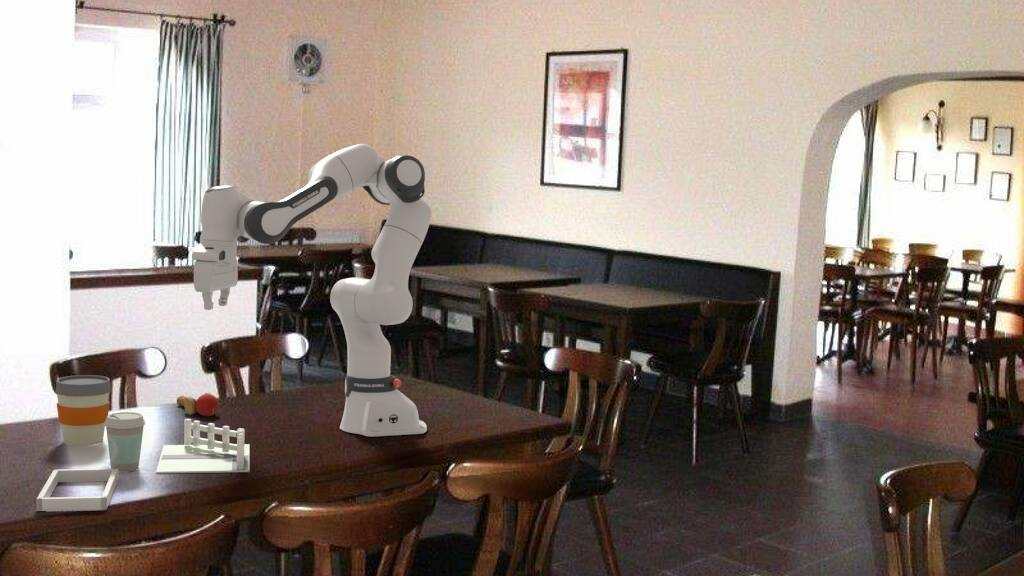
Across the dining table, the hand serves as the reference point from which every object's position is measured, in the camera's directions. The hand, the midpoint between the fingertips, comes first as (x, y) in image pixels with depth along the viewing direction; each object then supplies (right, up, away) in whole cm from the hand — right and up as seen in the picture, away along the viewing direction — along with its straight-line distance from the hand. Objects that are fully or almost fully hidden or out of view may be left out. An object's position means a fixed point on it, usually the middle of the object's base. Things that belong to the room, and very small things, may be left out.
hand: (215, 307), depth 300 cm
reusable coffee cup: (-30, -32, -7) cm, 45 cm away
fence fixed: (+11, -35, -23) cm, 44 cm away
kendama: (-13, -29, +30) cm, 43 cm away
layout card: (+2, -35, -19) cm, 39 cm away
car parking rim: (-16, -38, -51) cm, 65 cm away
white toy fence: (+3, -33, -13) cm, 36 cm away
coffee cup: (-13, -35, -30) cm, 48 cm away
